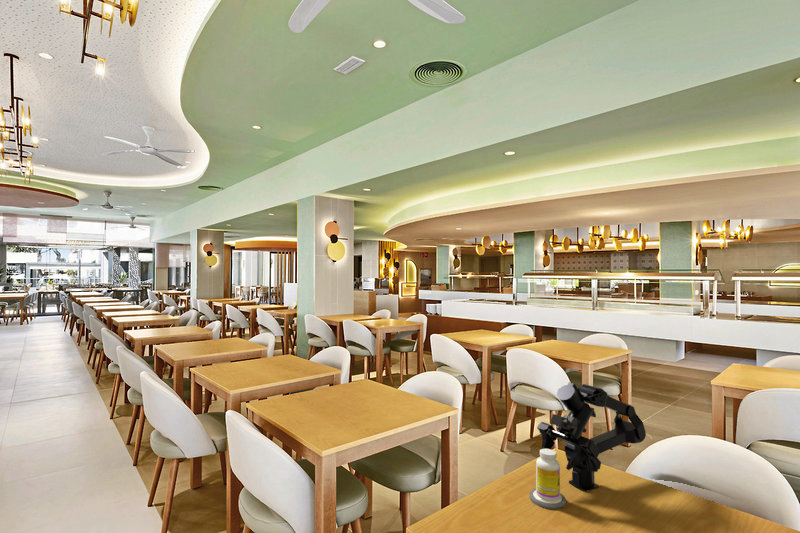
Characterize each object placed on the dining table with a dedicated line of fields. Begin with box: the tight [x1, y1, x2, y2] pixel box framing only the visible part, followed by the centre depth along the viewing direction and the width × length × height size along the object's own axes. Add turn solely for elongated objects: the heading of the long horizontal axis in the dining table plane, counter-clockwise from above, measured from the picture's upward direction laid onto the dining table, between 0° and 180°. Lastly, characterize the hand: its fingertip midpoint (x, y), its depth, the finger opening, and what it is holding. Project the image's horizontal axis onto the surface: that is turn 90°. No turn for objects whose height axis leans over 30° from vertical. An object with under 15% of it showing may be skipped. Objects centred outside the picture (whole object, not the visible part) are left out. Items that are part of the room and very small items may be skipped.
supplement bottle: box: [535, 448, 561, 501], centre depth 122 cm, size 7×7×13 cm
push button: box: [529, 487, 567, 510], centre depth 122 cm, size 10×10×1 cm
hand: (554, 463), depth 124 cm, fingers open, 9 cm apart
